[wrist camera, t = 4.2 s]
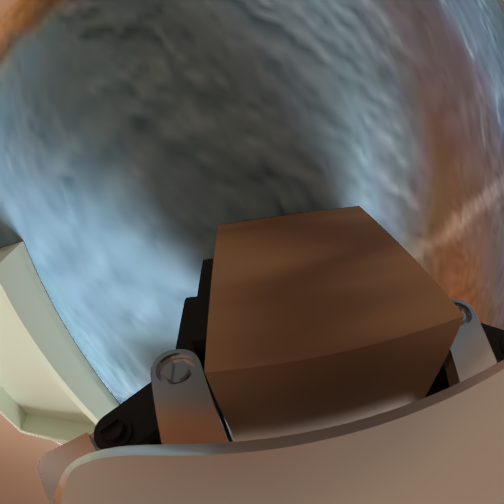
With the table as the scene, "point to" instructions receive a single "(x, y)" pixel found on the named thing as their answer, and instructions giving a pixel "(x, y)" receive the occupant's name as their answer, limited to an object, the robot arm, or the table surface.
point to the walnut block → (320, 323)
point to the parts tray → (42, 360)
